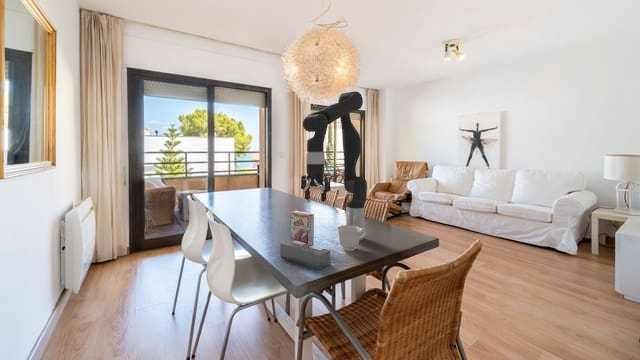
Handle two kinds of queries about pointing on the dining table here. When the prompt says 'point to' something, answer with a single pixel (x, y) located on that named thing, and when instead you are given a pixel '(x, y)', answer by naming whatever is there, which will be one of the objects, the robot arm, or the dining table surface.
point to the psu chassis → (305, 254)
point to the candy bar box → (302, 227)
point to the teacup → (350, 236)
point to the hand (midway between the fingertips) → (315, 200)
